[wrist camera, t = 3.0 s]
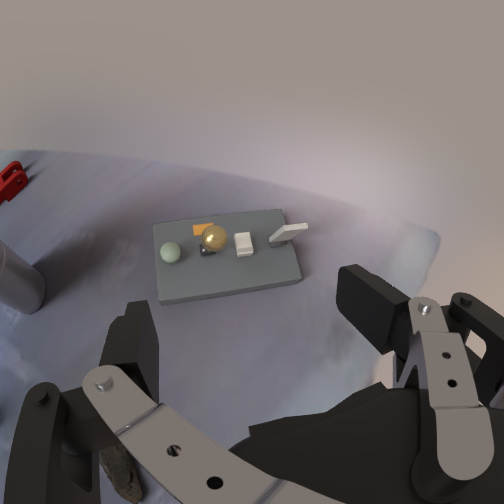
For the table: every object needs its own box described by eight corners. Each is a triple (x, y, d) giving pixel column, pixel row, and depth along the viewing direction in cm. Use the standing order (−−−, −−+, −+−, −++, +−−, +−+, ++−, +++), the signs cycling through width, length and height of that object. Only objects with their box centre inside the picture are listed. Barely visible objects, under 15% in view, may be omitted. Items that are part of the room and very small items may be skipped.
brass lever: (217, 257, 46) (231, 248, 30) (199, 260, 45) (203, 252, 29) (214, 239, 46) (227, 221, 30) (196, 242, 45) (199, 224, 29)
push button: (182, 265, 44) (181, 258, 42) (163, 267, 43) (161, 261, 41) (180, 247, 45) (179, 240, 43) (161, 250, 44) (159, 243, 42)
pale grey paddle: (286, 245, 48) (308, 232, 39) (267, 248, 47) (285, 235, 38) (284, 234, 49) (305, 218, 39) (265, 236, 48) (282, 221, 38)
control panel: (297, 283, 49) (302, 277, 46) (161, 305, 44) (158, 300, 41) (277, 217, 54) (281, 208, 51) (154, 232, 49) (152, 223, 46)
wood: (80, 391, 35) (73, 392, 32) (118, 390, 37) (112, 391, 34) (112, 500, 27) (107, 506, 24) (150, 502, 28) (147, 509, 26)
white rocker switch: (251, 255, 46) (253, 252, 45) (237, 257, 46) (239, 254, 44) (247, 235, 47) (249, 231, 45) (233, 236, 47) (235, 232, 45)
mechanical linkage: (24, 169, 51) (16, 157, 46) (30, 182, 49) (22, 169, 45) (-15, 208, 44) (-24, 198, 40) (-11, 223, 43) (-21, 213, 38)
